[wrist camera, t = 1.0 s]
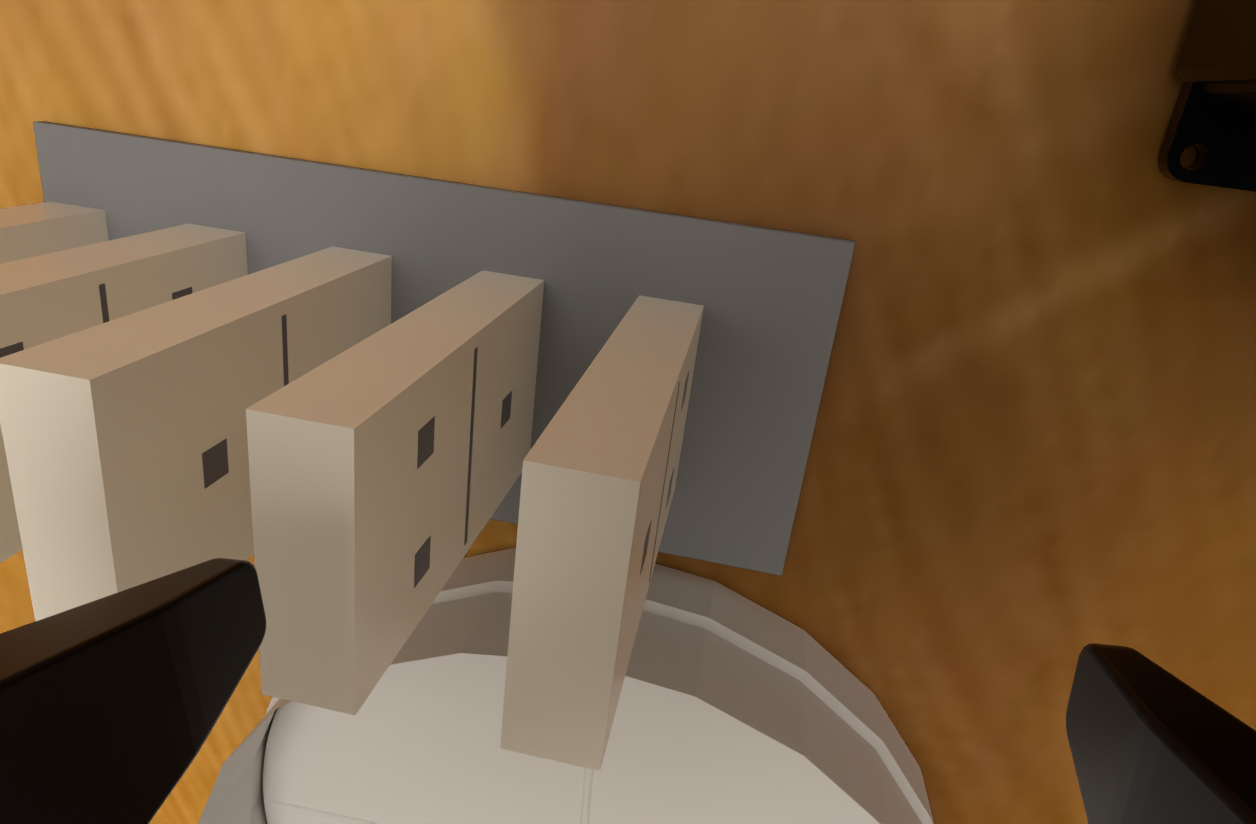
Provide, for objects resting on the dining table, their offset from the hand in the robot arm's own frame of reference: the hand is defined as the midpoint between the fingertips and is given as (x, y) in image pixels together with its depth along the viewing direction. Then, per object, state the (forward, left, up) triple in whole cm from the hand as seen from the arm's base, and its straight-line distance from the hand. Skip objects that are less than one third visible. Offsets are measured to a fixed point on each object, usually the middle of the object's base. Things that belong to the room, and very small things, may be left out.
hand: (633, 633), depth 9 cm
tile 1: (+1, +2, -12) cm, 13 cm away
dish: (+1, +18, -13) cm, 22 cm away
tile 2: (+5, +2, -12) cm, 13 cm away
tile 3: (+9, +2, -12) cm, 15 cm away
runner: (+8, +2, -13) cm, 15 cm away
